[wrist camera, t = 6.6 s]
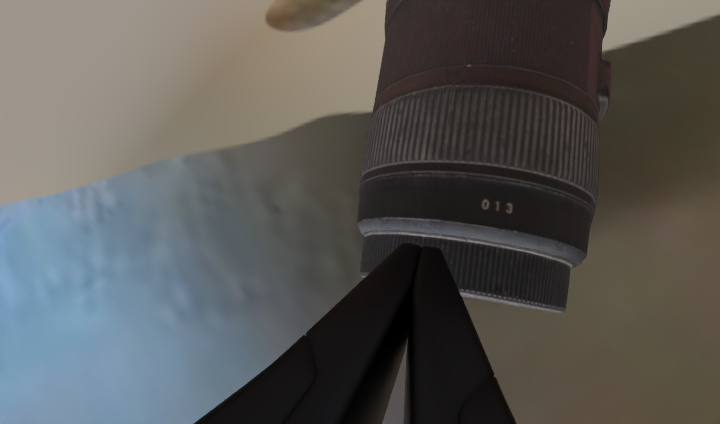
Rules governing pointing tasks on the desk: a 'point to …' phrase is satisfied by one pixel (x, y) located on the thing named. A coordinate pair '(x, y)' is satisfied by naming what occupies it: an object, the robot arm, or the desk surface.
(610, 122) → the desk surface
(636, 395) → the desk surface
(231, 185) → the desk surface
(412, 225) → the camera lens
